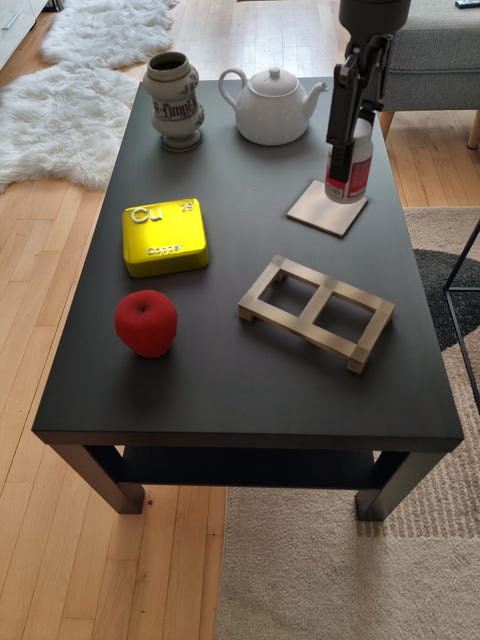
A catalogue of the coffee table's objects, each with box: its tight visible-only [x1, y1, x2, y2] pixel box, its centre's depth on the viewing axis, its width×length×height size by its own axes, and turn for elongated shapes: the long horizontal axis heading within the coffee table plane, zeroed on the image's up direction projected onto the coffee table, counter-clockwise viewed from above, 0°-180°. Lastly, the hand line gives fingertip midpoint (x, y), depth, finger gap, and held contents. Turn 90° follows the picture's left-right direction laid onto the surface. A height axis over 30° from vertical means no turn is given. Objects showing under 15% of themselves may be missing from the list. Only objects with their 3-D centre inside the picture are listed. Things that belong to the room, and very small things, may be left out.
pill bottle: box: [324, 118, 374, 204], centre depth 69 cm, size 6×6×11 cm
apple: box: [113, 289, 179, 358], centre depth 74 cm, size 10×10×11 cm
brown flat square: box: [286, 179, 369, 238], centre depth 95 cm, size 12×12×1 cm
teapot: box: [217, 66, 329, 146], centre depth 107 cm, size 19×18×14 cm
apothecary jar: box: [142, 50, 206, 153], centre depth 104 cm, size 12×12×18 cm
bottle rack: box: [237, 254, 397, 375], centre depth 79 cm, size 22×13×4 cm, turn 58°
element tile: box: [121, 198, 210, 279], centre depth 90 cm, size 15×15×5 cm
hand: (348, 165), depth 69 cm, fingers closed on pill bottle, 6 cm apart
